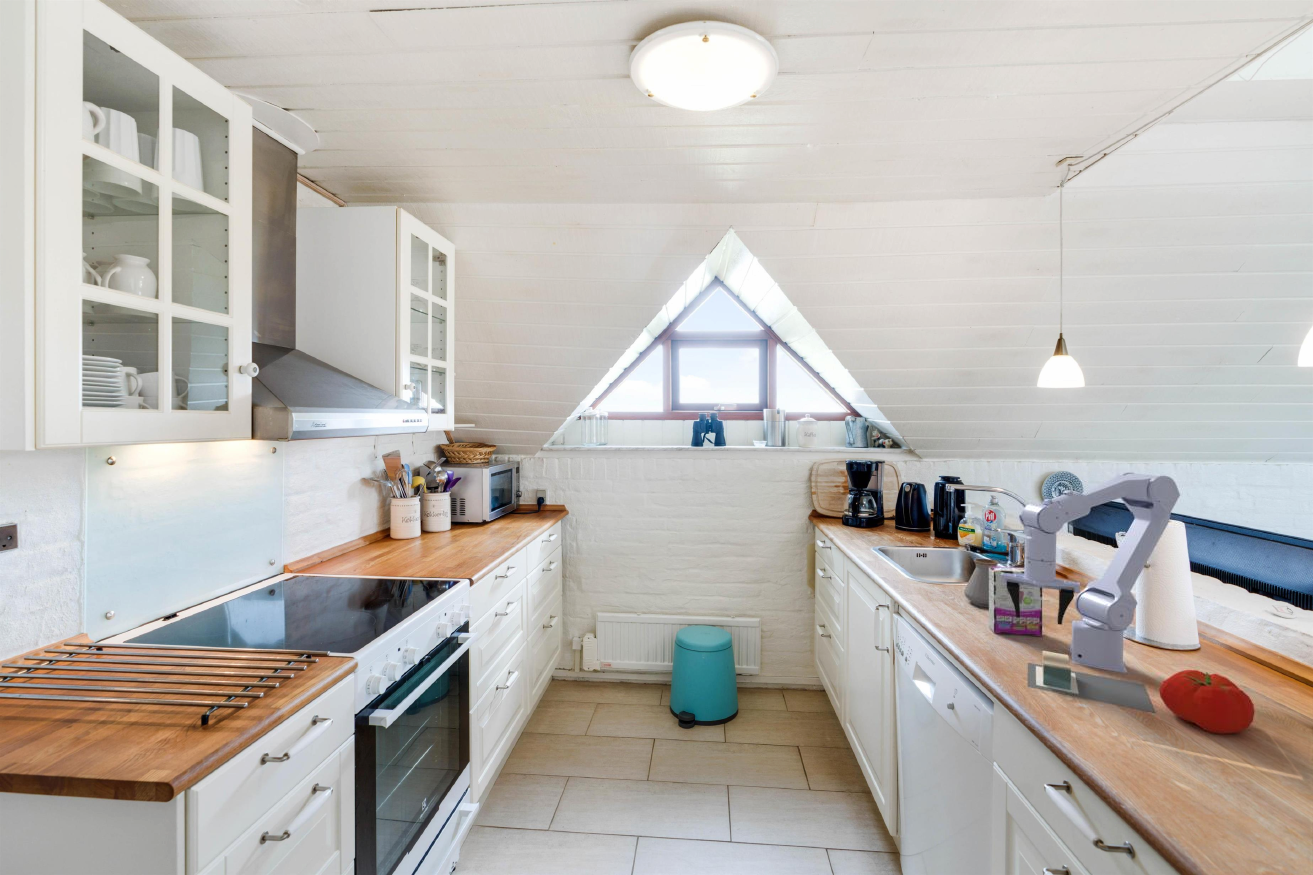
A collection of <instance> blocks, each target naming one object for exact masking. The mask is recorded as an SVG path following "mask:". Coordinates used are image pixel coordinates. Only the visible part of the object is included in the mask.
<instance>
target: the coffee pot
mask: <svg viewBox="0 0 1313 875" xmlns="http://www.w3.org/2000/svg"><path fill="white" fill-rule="evenodd" d="M973 562H974V563H975V568H974V571H973V573H972V574H971V576H970V579H969V580H968V581H967V583H966V586H965V587H964V590H963V594H964V596H965V597H966V598H967V600H968V601H970V603H971V604H973V605H975V606H978V607H982V608H989V567H998V565H999V561H997V560H994V559H989V558H975V559H973ZM1010 567H1011V568H1025V562H1022V563H1019V564H1015V565H1013V566H1010Z"/></svg>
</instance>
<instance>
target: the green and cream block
mask: <svg viewBox="0 0 1313 875" xmlns="http://www.w3.org/2000/svg"><path fill="white" fill-rule="evenodd" d="M1041 663H1042V664H1041V665H1042V671H1043V685H1048V686H1053V687H1058V688H1063V689H1068V690H1071V671H1072V668H1071V664H1070V659H1069V654H1065V653H1058V652H1052V651H1047V650H1042V662H1041Z"/></svg>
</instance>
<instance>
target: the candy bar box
mask: <svg viewBox="0 0 1313 875" xmlns="http://www.w3.org/2000/svg"><path fill="white" fill-rule="evenodd" d="M1011 567H1012V566H1010V567H1009V566H996V567H989V607H988V625H989V626H988V628H989V629H990V630H991V631H992V632H993V633H994V634H998V635H1000V634H1001V635H1014V636H1028V637H1043V588H1041V587H1033V586H1026V585H1020V591H1019V604H1020V618H1017V617H1016V612H1015V607H1014V604H1013V601H1012V598H1011V596H1010V594H1009V592H1008V590H1007V583H1001V573H1008V574H1024V569H1025V567H1022V568H1011Z"/></svg>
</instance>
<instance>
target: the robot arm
mask: <svg viewBox="0 0 1313 875" xmlns="http://www.w3.org/2000/svg"><path fill="white" fill-rule="evenodd" d="M1180 496H1181V493H1180V491H1179V489H1178V486H1177V483H1176V482H1175V480H1174V479H1173V478H1172V477H1170V476H1167V475H1153V474H1152V475H1151V474H1143V473H1134V472H1131V471H1130V472H1129V471H1127V472H1124V473H1122V474H1117V475H1114V476H1113V478H1112V479H1110V480H1108V481H1105V482H1103V483H1101V484H1098V485H1097V486H1095V487H1092V488H1090V489H1089V490H1086V491H1084V492H1082V493H1081V492H1079V491H1076V490H1070V489H1069V490H1068V489H1067V490H1064V491H1062V494H1061V495H1059V496H1056V497H1054V498H1046V499H1043V501H1042V502H1041V503H1035V502H1031V503H1029V504H1027V505H1026V506H1025V507H1024V508H1022V511H1021V512H1020V513H1021V514H1019V515H1018V519H1019V522H1020V524H1021V525H1022V526H1023V533H1024V535H1025V538H1024V540H1025V542H1024V563H1025V567H1024V568H1025V569H1024V574H1008V573H1001V583H1007V590H1008V592H1009V594H1010V596H1011V598H1012V601H1013V604H1014V607H1015V612H1016V617H1017V618H1020V604H1019V591H1020V585H1026V586H1033V587H1041V588H1042V589H1051V590H1056V591H1058V609H1057V610H1058V612H1057V624H1058V625H1062V624H1063V619H1064V616H1065V615H1066V611H1067V609H1068V607H1069V606H1070V604H1071V603H1072V601H1073V599H1074V598H1075V600H1074V607H1075V610H1076V611H1077V613H1078V614H1079V615H1080V620H1072V621H1071V644H1070V646H1069V652H1070V654H1071V659H1072V663H1073V664H1074V665H1079V666H1085V667H1091V668H1096V669H1101V670H1105V671H1111V672H1117V673H1123V674H1127V673H1128V670H1127V667H1126V664H1125V662H1124V635H1125V634H1124V631H1127V628H1129V627H1130V626H1131V624H1132V623H1133V620H1134V616H1135V609H1136V608H1137V605H1138V602H1137V599H1136V598H1135V597H1134V595H1133V593H1132V591H1131V590H1132V589H1133V587H1134V585H1135V584H1136V582H1137V580H1138V578H1139V577H1140V575H1141V573H1142V571H1143V569H1144V568H1145V565H1146V564H1147V562H1148V561H1149V559H1150V557H1151V555H1152V553H1153V552H1154V551H1155V550H1154V549H1155V548H1156V546H1157V545H1158V543H1159V541H1160V539H1161V537H1162V535H1163V533H1164V532H1165V530H1166V528H1167V527H1168V524H1169V522H1170V519H1171V513H1172V511H1173V509H1174V507H1175V506H1176V504H1177V502H1178V500H1179V498H1180ZM1119 499H1121V501H1122V502H1123V503H1124V505H1125V506H1126V507H1127V508H1128V510H1129V511H1130V512H1131V513H1132V514H1133V517H1134V519H1133V521H1132V523H1131V524H1130V527H1129V528H1128V530H1127V532H1126V533H1125V536H1124V537H1123V539H1122V541H1121V542H1120V544H1119V546H1118V547H1117V549H1116V551H1115V553H1114V555H1113V556H1112V559H1111V560H1110V563H1109V564H1108V566H1107V567H1106V570H1105V571H1104V573H1103V575H1102V576H1101V578H1098V579H1094V580H1093V581H1090V582H1088V583H1087V585H1086V587H1085V588H1083V589H1082V590H1081V583H1080V582H1077V581H1071V580H1066V579H1061V578H1060V579H1059V578H1056V565H1057V564H1056V562H1057V533H1058V532H1060V531H1061V530H1062V528H1063V527H1064V525H1065V524H1066V523H1070V522H1072V521H1074V520H1077V519H1079V518H1082V517H1086V516H1087V515H1089V514H1090V512H1091V508H1093V507H1096V506H1099V505H1102V504H1106V503H1109V502H1112V501H1116V500H1119ZM1158 501H1160V502H1158ZM1075 594H1077V595H1076V597H1075Z"/></svg>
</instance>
